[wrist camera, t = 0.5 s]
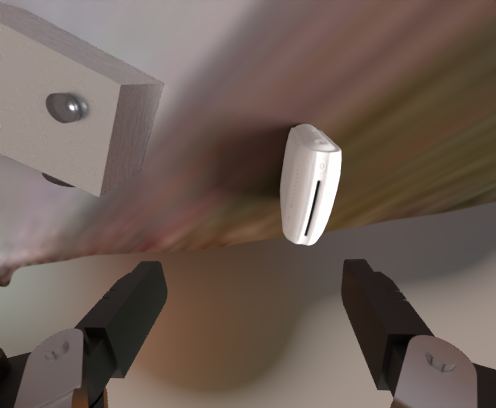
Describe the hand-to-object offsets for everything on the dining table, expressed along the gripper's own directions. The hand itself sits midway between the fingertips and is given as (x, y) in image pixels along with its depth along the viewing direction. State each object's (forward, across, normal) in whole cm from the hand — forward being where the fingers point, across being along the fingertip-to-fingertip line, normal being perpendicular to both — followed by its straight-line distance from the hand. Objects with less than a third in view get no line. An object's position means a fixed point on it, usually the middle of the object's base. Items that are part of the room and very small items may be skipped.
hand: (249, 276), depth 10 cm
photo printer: (+23, -5, 0) cm, 23 cm away
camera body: (+22, +21, -10) cm, 32 cm away
